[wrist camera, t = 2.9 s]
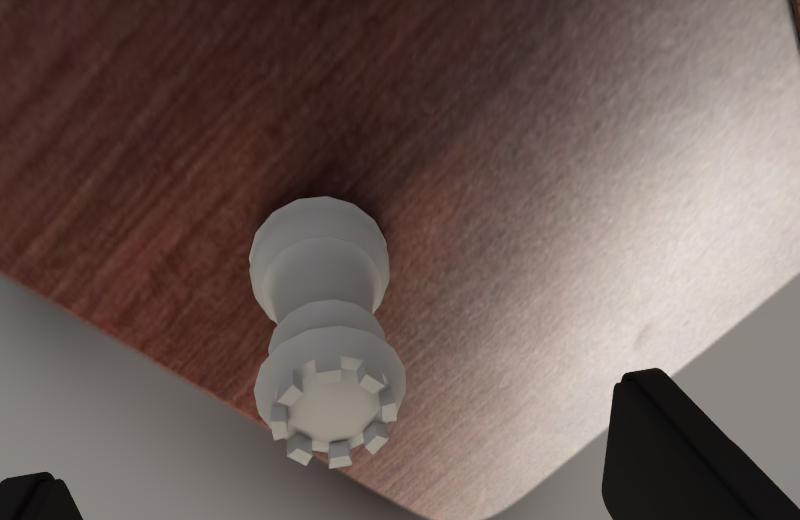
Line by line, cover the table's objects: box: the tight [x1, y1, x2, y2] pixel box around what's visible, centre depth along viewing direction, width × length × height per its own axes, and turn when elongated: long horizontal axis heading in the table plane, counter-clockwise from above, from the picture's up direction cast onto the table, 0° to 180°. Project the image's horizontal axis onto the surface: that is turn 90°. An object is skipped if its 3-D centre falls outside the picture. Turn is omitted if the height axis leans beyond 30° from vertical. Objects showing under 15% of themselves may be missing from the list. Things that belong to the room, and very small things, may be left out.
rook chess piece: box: [249, 196, 406, 469], centre depth 14 cm, size 4×4×8 cm
